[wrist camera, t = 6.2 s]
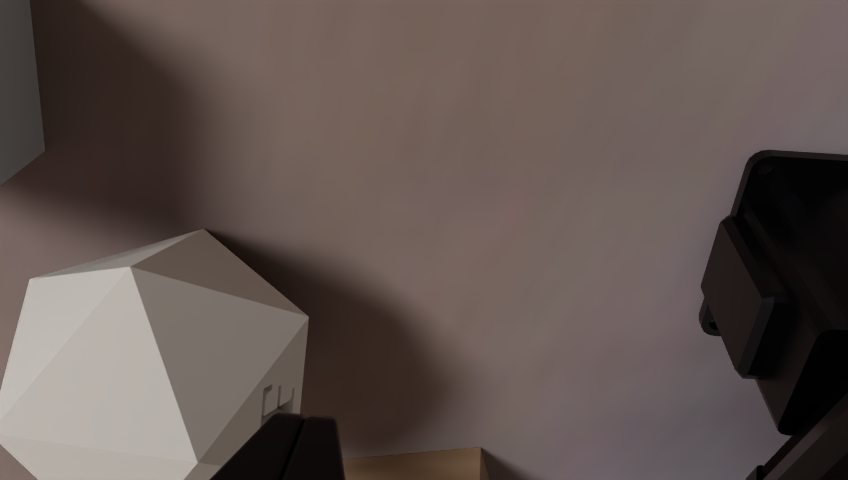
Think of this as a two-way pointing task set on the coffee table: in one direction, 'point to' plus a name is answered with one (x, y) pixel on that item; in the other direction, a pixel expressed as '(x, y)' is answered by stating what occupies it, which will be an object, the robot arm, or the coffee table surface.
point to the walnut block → (420, 466)
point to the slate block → (18, 90)
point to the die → (149, 364)
